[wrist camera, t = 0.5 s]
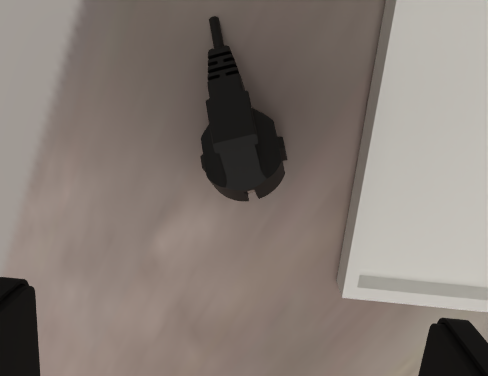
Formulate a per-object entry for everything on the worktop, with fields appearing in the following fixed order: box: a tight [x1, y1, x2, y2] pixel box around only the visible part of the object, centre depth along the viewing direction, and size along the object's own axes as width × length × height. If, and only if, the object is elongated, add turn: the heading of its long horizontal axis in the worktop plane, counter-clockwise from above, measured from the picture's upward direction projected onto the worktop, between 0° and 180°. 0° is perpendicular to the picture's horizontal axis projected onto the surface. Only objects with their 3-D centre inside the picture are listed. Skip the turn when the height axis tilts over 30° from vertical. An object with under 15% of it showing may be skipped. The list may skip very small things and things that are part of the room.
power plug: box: [201, 16, 287, 201], centre depth 30 cm, size 6×8×12 cm
